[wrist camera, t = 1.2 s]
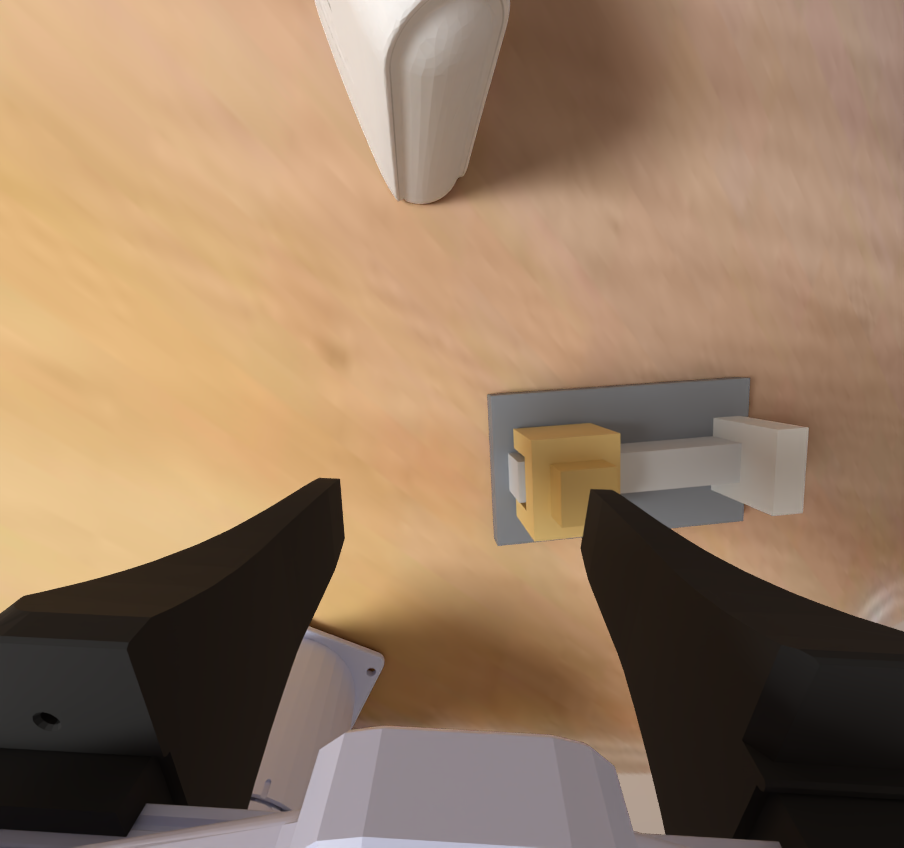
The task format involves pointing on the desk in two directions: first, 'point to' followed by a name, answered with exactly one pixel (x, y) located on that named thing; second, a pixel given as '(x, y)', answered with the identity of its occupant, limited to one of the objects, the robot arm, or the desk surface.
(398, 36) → the photo printer
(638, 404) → the rail board
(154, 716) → the robot arm
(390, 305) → the desk surface
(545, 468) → the slider
